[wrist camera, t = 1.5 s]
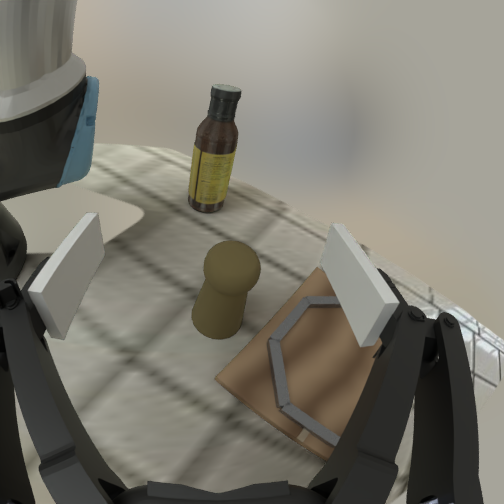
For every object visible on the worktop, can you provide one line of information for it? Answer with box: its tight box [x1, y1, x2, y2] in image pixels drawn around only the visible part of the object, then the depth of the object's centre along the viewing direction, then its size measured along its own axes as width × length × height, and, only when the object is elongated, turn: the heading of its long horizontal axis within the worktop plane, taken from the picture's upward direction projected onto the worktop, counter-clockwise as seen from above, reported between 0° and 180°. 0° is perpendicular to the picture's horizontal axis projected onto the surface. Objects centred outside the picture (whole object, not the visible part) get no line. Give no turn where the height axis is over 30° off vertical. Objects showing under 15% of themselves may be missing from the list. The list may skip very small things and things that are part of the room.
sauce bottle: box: [188, 84, 241, 212], centre depth 38 cm, size 6×6×20 cm
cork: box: [192, 241, 261, 339], centre depth 27 cm, size 6×6×11 cm
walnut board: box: [215, 267, 382, 461], centre depth 30 cm, size 22×22×1 cm
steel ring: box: [266, 296, 342, 448], centre depth 29 cm, size 19×19×1 cm
